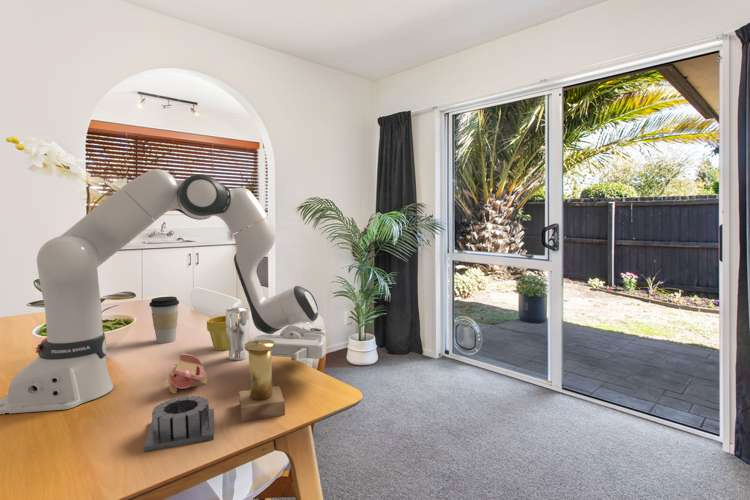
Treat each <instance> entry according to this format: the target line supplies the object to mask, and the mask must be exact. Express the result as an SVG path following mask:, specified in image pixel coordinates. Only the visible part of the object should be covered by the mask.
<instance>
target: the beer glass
mask: <svg viewBox="0 0 750 500" xmlns="http://www.w3.org/2000/svg"><path fill="white" fill-rule="evenodd" d="M225 316H226V331H227V336H228V341H229V351H228V358H227V359H228V360H230V361H242V360H243V361H244V360H246V359H249V353H248V351H247V350H245V344H246V343H247V342H248V341H249V335H250V334H249V333H250V325H251V323H250V312H249V308H248V307H243V306H238V307H237V306H236V307H230V308H227V309H226V310H225Z"/></svg>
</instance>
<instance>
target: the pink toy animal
mask: <svg viewBox="0 0 750 500" xmlns="http://www.w3.org/2000/svg"><path fill="white" fill-rule="evenodd" d="M174 365H175V367H173V368H172V370H171V372H170V373H169V374H168V378H167V382H168V383H167V384H168V386H169V391H170V393H173V394H176V395H177V393H178V392H177V391H178V389H180V390H181V389H187V388H190V387H195V386H196V387H197V386H203V385H207V383H208V372H206V371H205V368H204V366H203V365H202V363H201V361H200V359H199V358H198V357H196V356H195V355H192V354H190V353H180V354H179V360H178V361H177V363H176V364H174Z"/></svg>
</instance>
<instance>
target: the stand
mask: <svg viewBox="0 0 750 500" xmlns="http://www.w3.org/2000/svg"><path fill="white" fill-rule="evenodd" d="M238 393H239V396H238V397H239V398H238V399H239V400H238V401H239V402H238V403H239V410H240V411H239V412H240V417H241V422H249V421H254V420H260V419H266V418H271V417H278V416H279V417H280V416H284V415H286V408H285V407H286V405H285V403H286V402H285V398H284V396H283V393H282V391H281V387H280V385H277V386H276V385H275V386H274V385H273V386H272V397H271V398H269V399H267V400H262V401H255V400H252V399H250V389H248V390H239V391H238Z"/></svg>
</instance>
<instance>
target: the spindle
mask: <svg viewBox="0 0 750 500" xmlns="http://www.w3.org/2000/svg"><path fill="white" fill-rule="evenodd" d="M274 347H275V342H274V341H272V340H254V341H250V342H247V343H246V344H245V350H247V351H249V357H248V368H249V369H248V370H249V371H248V373H249V374H248V375H249V377H248V378H249V390H250V399H252V400H255V401H262V400H267V399H269V398H271V397H272V387H273V375H272V374H273V373H272V370H273V369H272V368H273V367H272V356H271V349H273V348H274Z"/></svg>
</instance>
